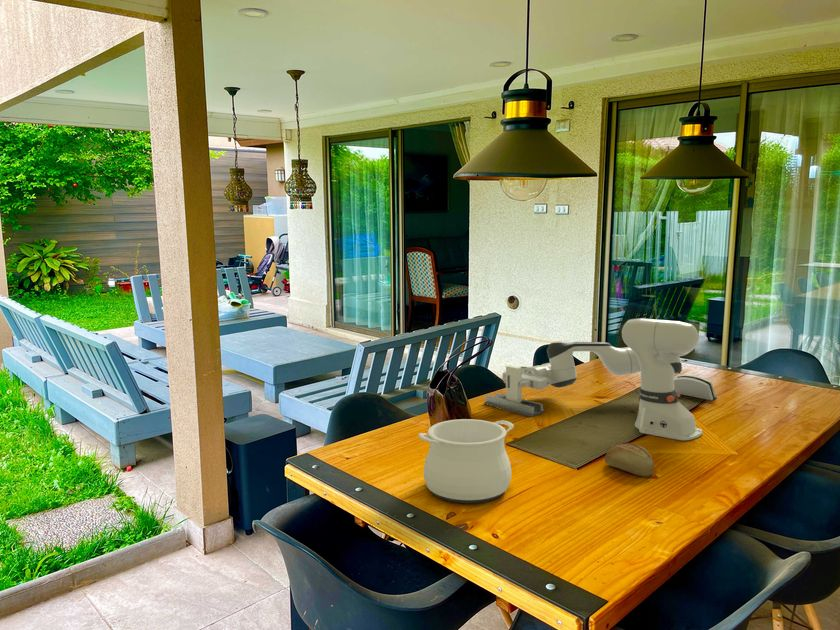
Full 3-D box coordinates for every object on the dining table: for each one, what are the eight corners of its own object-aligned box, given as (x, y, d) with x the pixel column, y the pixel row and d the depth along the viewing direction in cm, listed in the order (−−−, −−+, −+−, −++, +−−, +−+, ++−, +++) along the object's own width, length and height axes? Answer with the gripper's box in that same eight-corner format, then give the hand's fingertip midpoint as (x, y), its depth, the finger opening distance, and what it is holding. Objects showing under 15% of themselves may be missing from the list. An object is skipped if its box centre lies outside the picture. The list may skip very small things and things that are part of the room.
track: (544, 412, 252) (544, 403, 251) (529, 417, 246) (529, 408, 245) (498, 400, 270) (498, 392, 269) (484, 404, 264) (484, 396, 263)
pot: (440, 516, 164) (439, 450, 162) (404, 482, 187) (402, 423, 184) (534, 496, 175) (535, 434, 173) (489, 465, 198) (489, 410, 195)
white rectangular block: (521, 402, 256) (521, 367, 254) (516, 403, 254) (517, 368, 252) (510, 399, 261) (510, 365, 258) (505, 400, 259) (505, 366, 257)
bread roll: (614, 460, 201) (614, 435, 200) (660, 472, 190) (661, 446, 189) (598, 468, 194) (598, 443, 193) (645, 482, 184) (646, 455, 183)
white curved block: (717, 398, 267) (715, 377, 264) (712, 403, 265) (709, 383, 261) (679, 390, 280) (676, 370, 277) (674, 395, 278) (671, 375, 274)
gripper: (555, 389, 257) (532, 395, 248) (516, 380, 273) (493, 386, 264) (555, 373, 256) (532, 379, 248) (516, 365, 272) (493, 371, 263)
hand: (512, 383), depth 256 cm, fingers closed on white rectangular block, 6 cm apart
